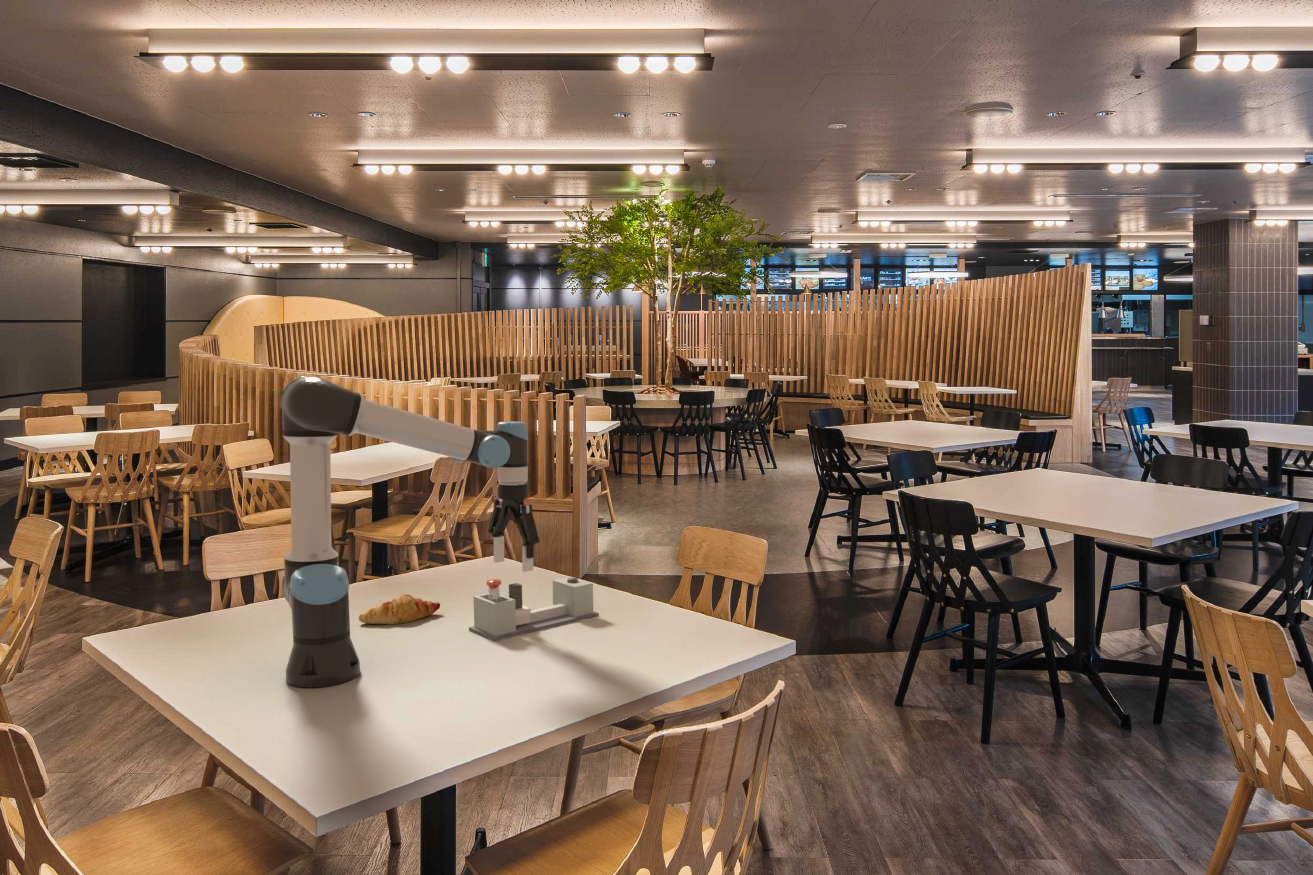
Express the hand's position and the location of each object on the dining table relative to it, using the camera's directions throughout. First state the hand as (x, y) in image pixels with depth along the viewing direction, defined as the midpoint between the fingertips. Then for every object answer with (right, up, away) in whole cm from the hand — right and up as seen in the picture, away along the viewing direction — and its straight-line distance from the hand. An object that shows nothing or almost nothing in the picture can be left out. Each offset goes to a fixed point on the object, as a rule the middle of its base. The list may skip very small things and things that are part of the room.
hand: (513, 566), depth 231 cm
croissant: (-32, -16, +10) cm, 37 cm away
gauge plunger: (-4, -12, -3) cm, 13 cm away
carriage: (+1, -15, +2) cm, 15 cm away
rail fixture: (+5, -15, +5) cm, 17 cm away
